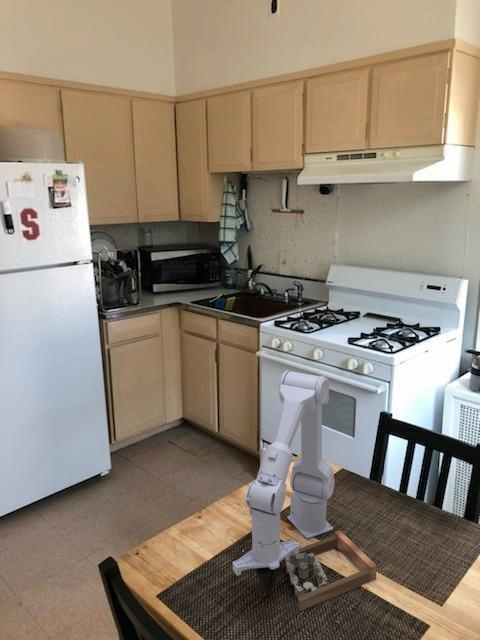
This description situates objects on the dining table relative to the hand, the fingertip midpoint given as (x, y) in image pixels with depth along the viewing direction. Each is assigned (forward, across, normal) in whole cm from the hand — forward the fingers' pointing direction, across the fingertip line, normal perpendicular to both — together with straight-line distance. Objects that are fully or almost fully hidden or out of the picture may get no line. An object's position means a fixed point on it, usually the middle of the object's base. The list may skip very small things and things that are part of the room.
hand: (266, 590), depth 109 cm
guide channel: (+1, +13, 0) cm, 13 cm away
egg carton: (+2, +10, 0) cm, 10 cm away
